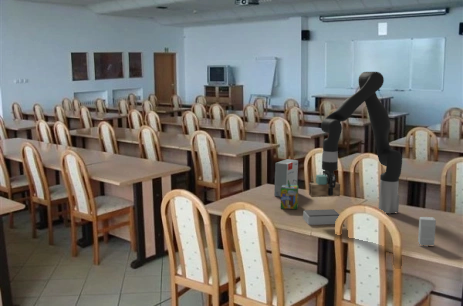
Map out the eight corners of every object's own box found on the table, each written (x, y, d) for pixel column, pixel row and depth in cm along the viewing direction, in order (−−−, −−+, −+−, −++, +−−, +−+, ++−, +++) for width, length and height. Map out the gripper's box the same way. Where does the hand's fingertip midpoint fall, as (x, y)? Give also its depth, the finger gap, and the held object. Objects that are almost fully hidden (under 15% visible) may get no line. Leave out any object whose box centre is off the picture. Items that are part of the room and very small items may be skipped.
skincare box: (431, 243, 219) (434, 217, 217) (434, 247, 215) (436, 220, 213) (417, 242, 220) (419, 216, 218) (419, 246, 216) (421, 219, 214)
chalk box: (297, 209, 268) (298, 182, 266) (280, 208, 270) (280, 181, 268) (298, 205, 277) (299, 178, 275) (281, 204, 279) (282, 178, 276)
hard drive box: (285, 198, 291) (286, 164, 288) (273, 196, 295) (274, 162, 292) (297, 192, 304) (298, 160, 300) (286, 190, 308) (286, 158, 304)
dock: (333, 217, 255) (334, 208, 255) (340, 223, 246) (340, 214, 245) (303, 218, 254) (303, 209, 253) (308, 224, 244) (308, 215, 243)
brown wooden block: (336, 193, 251) (336, 181, 250) (339, 196, 246) (340, 184, 245) (308, 194, 249) (309, 182, 248) (311, 197, 244) (312, 185, 243)
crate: (323, 182, 248) (324, 174, 248) (326, 184, 244) (326, 176, 244) (315, 182, 248) (316, 174, 247) (318, 184, 244) (318, 176, 243)
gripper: (342, 162, 238) (340, 197, 241) (332, 157, 252) (331, 190, 255) (326, 163, 237) (325, 198, 240) (318, 157, 251) (316, 190, 254)
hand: (328, 193), depth 248 cm, fingers closed on brown wooden block, 5 cm apart
